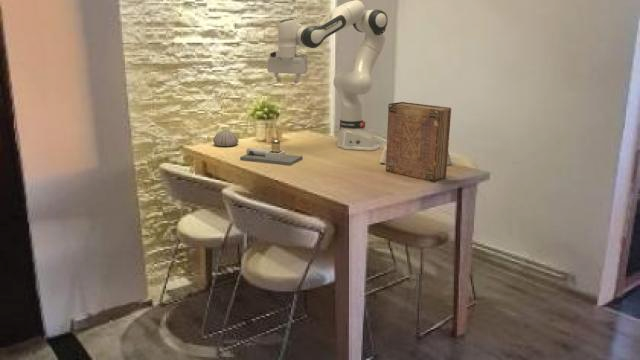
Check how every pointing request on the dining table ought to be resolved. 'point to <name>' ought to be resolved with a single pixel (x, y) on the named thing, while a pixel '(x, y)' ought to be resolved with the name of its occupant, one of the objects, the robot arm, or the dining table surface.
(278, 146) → the brass valve
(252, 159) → the pipe board
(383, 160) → the faucet
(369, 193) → the dining table surface
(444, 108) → the book
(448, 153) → the flask
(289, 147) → the dining table surface
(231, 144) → the sea urchin shell
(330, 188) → the dining table surface
